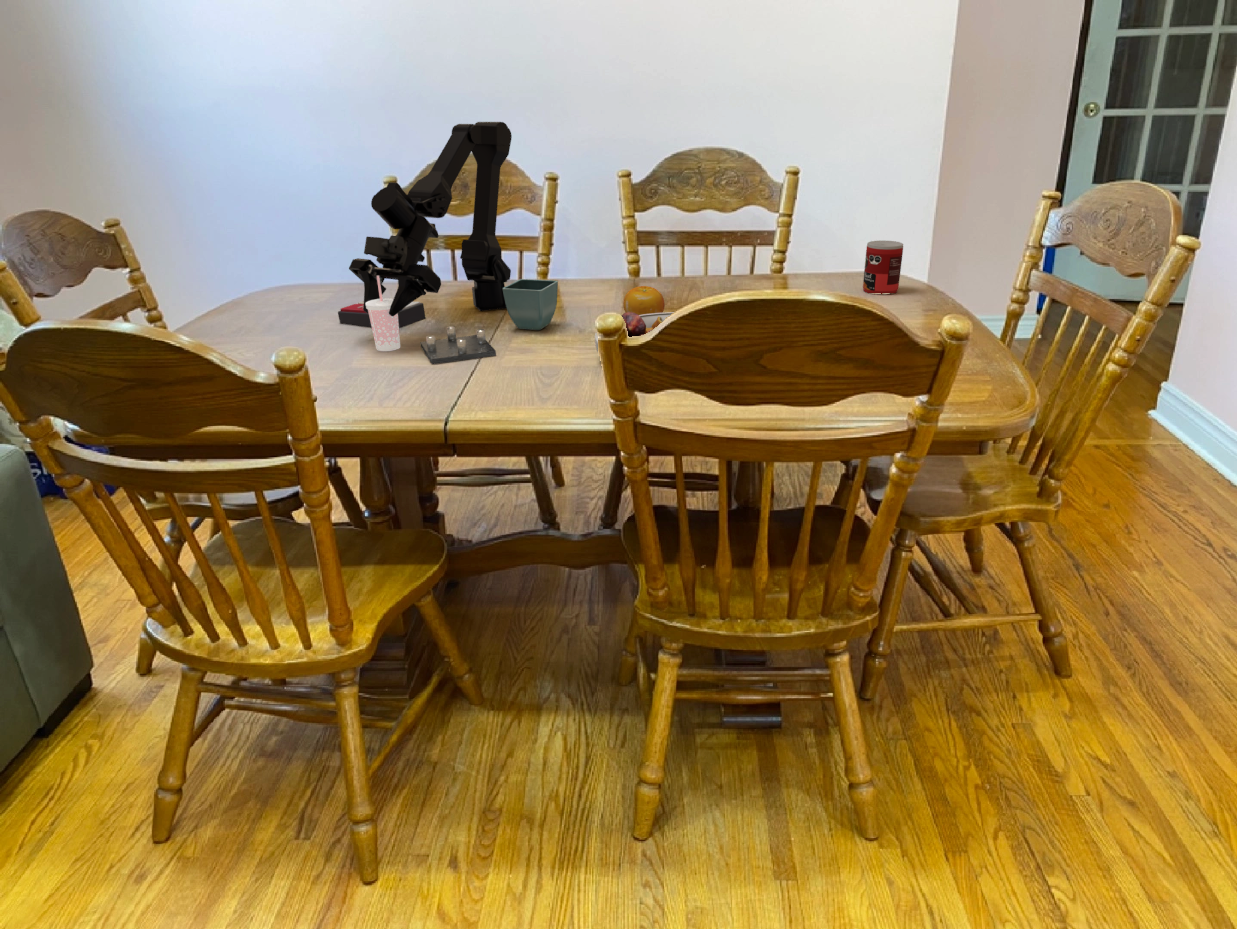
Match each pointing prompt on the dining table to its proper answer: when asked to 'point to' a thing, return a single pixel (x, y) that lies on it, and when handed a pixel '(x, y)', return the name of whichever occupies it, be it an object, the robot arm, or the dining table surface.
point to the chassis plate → (457, 347)
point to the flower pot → (531, 302)
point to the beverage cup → (383, 323)
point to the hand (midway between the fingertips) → (378, 313)
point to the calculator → (361, 318)
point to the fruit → (644, 301)
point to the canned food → (882, 266)
